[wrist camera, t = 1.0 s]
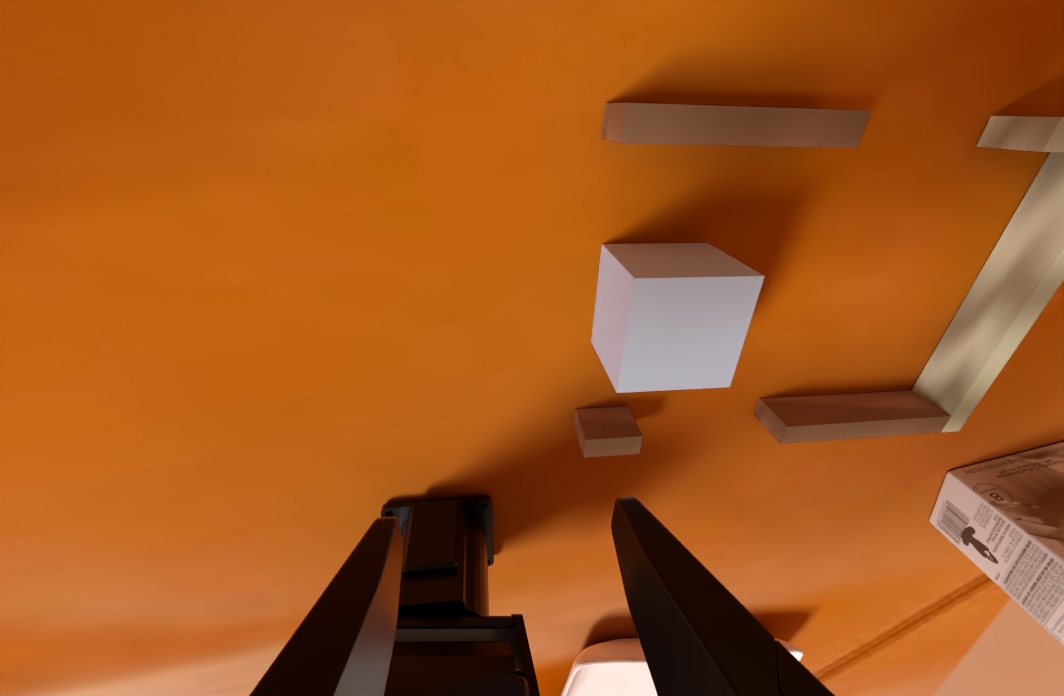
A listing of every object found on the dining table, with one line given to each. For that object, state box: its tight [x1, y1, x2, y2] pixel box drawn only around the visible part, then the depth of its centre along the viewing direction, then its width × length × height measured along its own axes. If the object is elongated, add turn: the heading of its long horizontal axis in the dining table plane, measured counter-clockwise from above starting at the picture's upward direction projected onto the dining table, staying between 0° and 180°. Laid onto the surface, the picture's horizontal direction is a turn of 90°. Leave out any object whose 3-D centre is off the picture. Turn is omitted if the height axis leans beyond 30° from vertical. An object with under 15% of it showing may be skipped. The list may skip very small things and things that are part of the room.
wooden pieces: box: [574, 103, 1064, 458], centre depth 20 cm, size 16×22×2 cm
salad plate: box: [560, 638, 803, 696], centre depth 40 cm, size 21×21×3 cm
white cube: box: [591, 243, 765, 393], centre depth 18 cm, size 5×5×4 cm
